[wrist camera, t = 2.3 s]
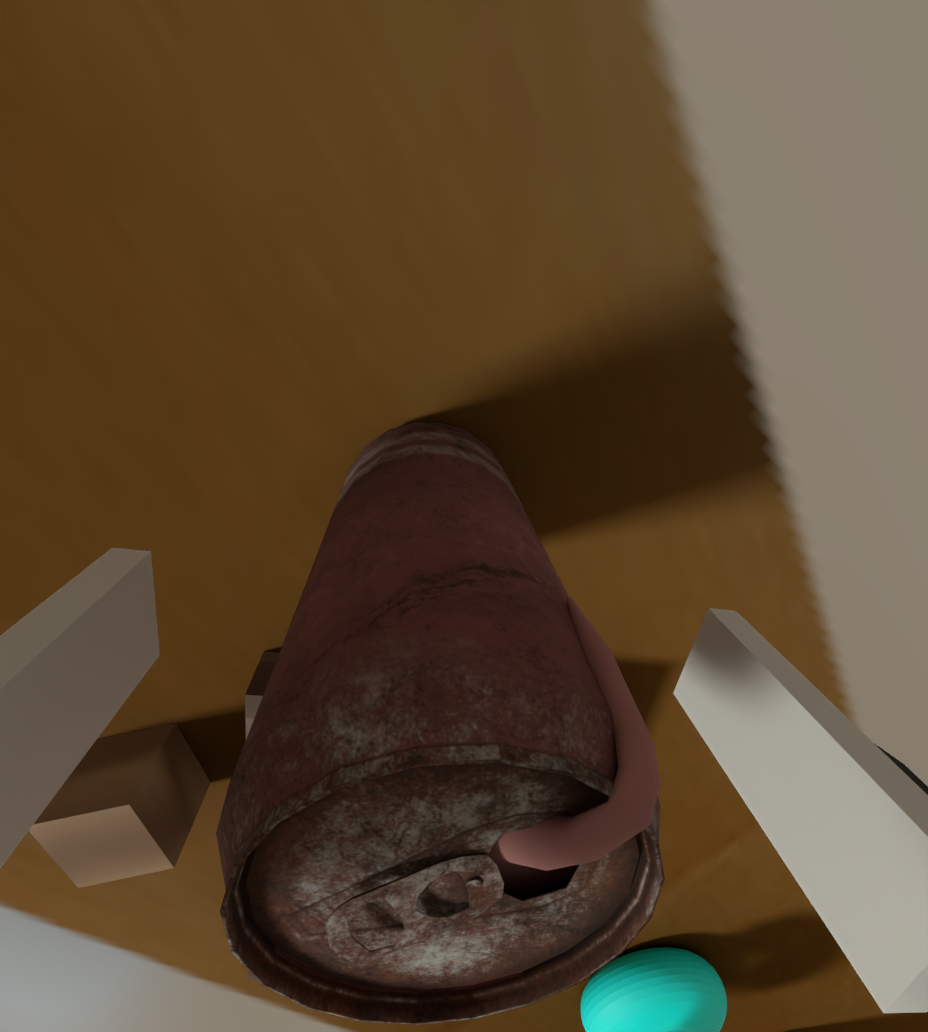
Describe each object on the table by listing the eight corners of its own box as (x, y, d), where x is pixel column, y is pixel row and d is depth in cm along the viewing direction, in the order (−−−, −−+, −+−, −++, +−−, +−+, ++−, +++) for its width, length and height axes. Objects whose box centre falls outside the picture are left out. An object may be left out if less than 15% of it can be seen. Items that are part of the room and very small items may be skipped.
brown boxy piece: (89, 739, 22) (24, 826, 19) (176, 721, 22) (129, 804, 19) (130, 797, 24) (78, 887, 20) (211, 780, 24) (173, 867, 20)
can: (543, 478, 19) (810, 859, 6) (440, 592, 20) (480, 1078, 8) (416, 376, 17) (417, 624, 4) (314, 511, 19) (90, 984, 6)
